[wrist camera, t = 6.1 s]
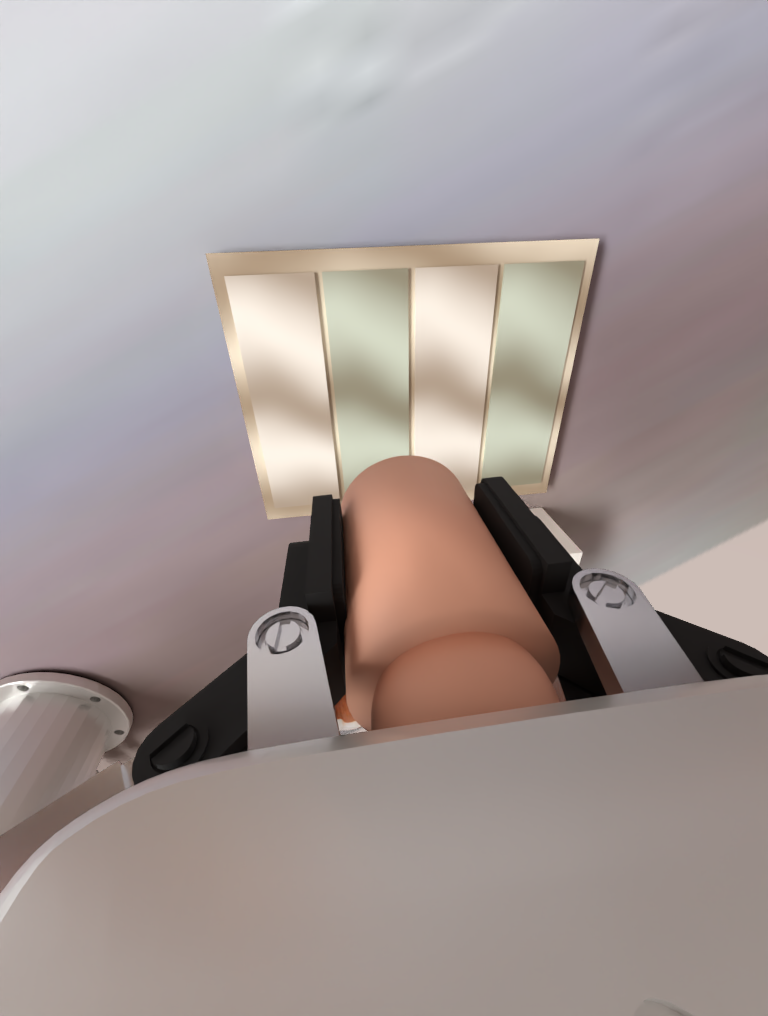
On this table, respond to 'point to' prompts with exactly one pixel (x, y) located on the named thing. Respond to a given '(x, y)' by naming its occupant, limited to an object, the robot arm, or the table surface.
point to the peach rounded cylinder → (433, 605)
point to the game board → (402, 359)
